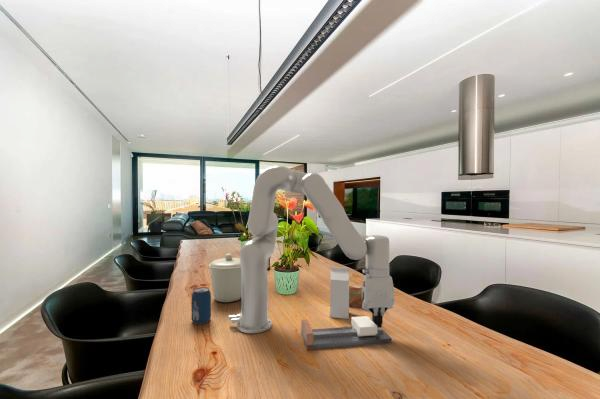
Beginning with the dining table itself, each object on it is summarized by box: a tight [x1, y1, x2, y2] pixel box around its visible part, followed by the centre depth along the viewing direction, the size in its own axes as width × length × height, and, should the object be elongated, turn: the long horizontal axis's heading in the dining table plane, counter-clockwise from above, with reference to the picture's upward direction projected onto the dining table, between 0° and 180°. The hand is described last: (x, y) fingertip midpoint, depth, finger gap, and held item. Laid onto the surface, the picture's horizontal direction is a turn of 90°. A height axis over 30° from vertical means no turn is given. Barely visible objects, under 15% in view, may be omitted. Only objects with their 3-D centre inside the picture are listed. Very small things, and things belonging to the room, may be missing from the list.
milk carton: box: [329, 266, 350, 320], centre depth 112 cm, size 7×7×19 cm
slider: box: [351, 315, 377, 337], centre depth 94 cm, size 6×8×4 cm
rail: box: [301, 319, 393, 351], centre depth 93 cm, size 28×10×5 cm, turn 99°
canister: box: [208, 252, 242, 303], centre depth 130 cm, size 18×18×21 cm
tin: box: [349, 285, 363, 309], centre depth 122 cm, size 15×3×8 cm, turn 68°
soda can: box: [191, 286, 212, 325], centre depth 106 cm, size 7×7×12 cm
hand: (377, 325), depth 95 cm, fingers closed
